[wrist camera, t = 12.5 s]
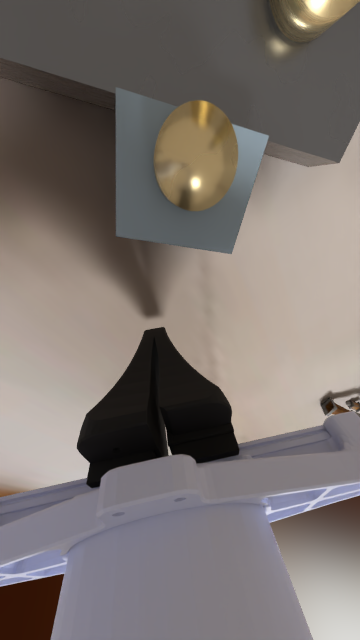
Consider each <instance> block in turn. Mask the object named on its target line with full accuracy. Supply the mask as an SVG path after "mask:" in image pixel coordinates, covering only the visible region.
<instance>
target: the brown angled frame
mask: <svg viewBox="0 0 360 640" xmlns="http://www.w3.org/2000/svg"><path fill="white" fill-rule="evenodd" d="M346 405H348V407H349V409H354V410H356V412H359V411H360V403H359V402H357V403H356V402H354V401H352V400H351V401H347V402H346ZM321 407H322V409H323V412H324V414H325V416H326V415H327V416H329V415H330V414H335V415H336V414H340V413H345V412H349V410H347V409H345V408H343V407H341V406H339V405H337V404H336V403H334V401H333V400H332V398H329V399H328V400H327V401H326V402H325V403H323V404H322V405H321ZM351 411H352V410H351ZM356 412H355V413H356ZM356 414H357V415H358V416H359V417H360V414H359V413H356Z"/></svg>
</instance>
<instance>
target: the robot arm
mask: <svg viewBox="0 0 360 640" xmlns="http://www.w3.org/2000/svg"><path fill="white" fill-rule="evenodd" d="M231 416H232V410H231V406H230V404H229V402H228V400H227V398H226V397H225V395H224V394H223V392H222V391H221V390H220V388H219V387H218V386H216V385H215V384H213V383H212V382H210V381H209V380H207V379H206V378H205V377H203V376H202V375H201V374H200V373H198V372H197V371H196V370H195V369H194V368H193V367H192V366H191V365H190V364H188V363H187V361H186V360H185V359H184V358H183V357H182V356H181V355H180V353H179V352H178V351H177V350H176V348H175V347H174V345H173V344H172V342H171V341H170V339H169V337H168V335H167V333H166V330H165V328H164V327H161V328H155V329H150V330H145V331H144V334H143V337H142V340H141V342H140V345H139V347H138V349H137V351H136V353H135V355H134V357H133V359H132V361H131V363H130V364H129V366H128V368H127V369H126V371H125V372H124V374H123V375H122V376H121V378H120V379H119V380H118V382H117V383H116V384H115V386H114V387H113V388H112V389H111V390H110V391H109V392H108V394H107V395H106V396H105V397H104V398H103V399H102V400H101V401H100V402H99V403H98V404H97V405H96V406H95V407H94V408H93V409H92V410H90V411H89V412H88V413H87V414H86V417H85V419H84V422H83V425H82V427H81V431H80V435H79V439H78V443H77V449H78V451H79V452H80V454H81V455H82V456H83V457H84V458H85V459H86V460H87V461H88V462H89V463H90V467H89V472H88V477H87V478H85V479H80V480H76V481H71V482H67V483H63V484H58V485H54V486H49V487H45V488H40V489H36V490H31V491H27V492H23V493H18V494H14V495H9V496H5V497H0V586H4V585H9V584H14V583H19V582H24V581H28V580H33V579H39V578H43V577H49V576H54V575H59V574H64V573H65V574H64V579H63V584H62V588H61V593H60V599H59V603H58V608H57V613H56V617H55V622H54V627H53V632H52V637H51V640H313V638H312V636H311V633H310V630H309V628H308V625H307V623H306V619H305V617H304V614H303V612H302V609H301V606H300V604H299V601H298V598H297V596H296V593H295V590H294V588H293V585H292V582H291V580H290V577H289V574H288V572H287V569H286V566H285V563H284V561H283V558H282V555H281V553H280V550H279V547H278V544H277V542H276V539H275V536H274V534H273V531H272V528H271V526H270V522H273V521H276V520H280V519H283V518H286V517H289V516H292V515H296V514H299V513H302V512H305V511H308V510H312V509H315V508H318V507H321V506H324V505H328V504H331V503H335V502H338V501H341V500H345V499H348V498H352V497H355V496H359V495H360V417H359V416H358V415H357V414H356V413H355V412H354V411H349V412H345V413H340V414H336V415H332V416H330V417H328V418H327V419H326V420H325V421H324V423H323V425H321V426H316V427H312V428H307V429H303V430H299V431H294V432H290V433H285V434H281V435H276V436H272V437H267V438H263V439H259V440H254V441H250V442H245V443H241V444H238V443H237V441H236V438H235V435H234V429H233V426H232V423H231ZM165 427H166V430H167V440H168V446H169V447H170V450H171V453H172V455H170V456H169V455H168V448H167V440H166V431H165Z"/></svg>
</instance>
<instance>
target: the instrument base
mask: <svg viewBox="0 0 360 640" xmlns="http://www.w3.org/2000/svg"><path fill="white" fill-rule="evenodd" d="M0 77H3V78H6V79H9V80H13V81H16V82H20V83H23V84H27V85H30V86H33V87H37V88H40V89H44V90H47V91H51V92H54V93H57V94H61V95H64V96H68V97H71V98H74V99H78V100H81V101H85V102H88V103H92V104H95V105H98V106H102V107H105V108H109V109H112V110H116V87H117V88H121V89H124V90H127V91H130V92H133V93H136V94H139V95H143V96H146V97H149V98H152V99H155V100H158V101H161V102H165V103H168V104H171V105H174V106H177V107H179V106H180V105H182V104H184V103H187V102H189V101H195V100H199V101H206V102H209V103H211V104H214V105H215V106H217V107H218V108H220V109H221V110H222V111H223V112H224V113H225V115H226V116H227V117H228V119H229V120H230V122H231V124H234V125H237V126H240V127H243V128H246V129H249V130H253V131H256V132H259V133H262V134H265V135H268V136H269V138H268V141H267V144H266V147H265V150H264V153H263V154H266V155H270V156H273V157H277V158H280V159H283V160H287V161H290V162H294V163H297V164H301V165H304V166H307V167H312V166H319V165H327V164H335V163H340V160H341V158H342V156H343V154H344V152H345V150H346V148H347V146H348V144H349V142H350V140H351V138H352V136H353V134H354V132H355V130H356V128H357V126H358V124H359V122H360V0H0Z"/></svg>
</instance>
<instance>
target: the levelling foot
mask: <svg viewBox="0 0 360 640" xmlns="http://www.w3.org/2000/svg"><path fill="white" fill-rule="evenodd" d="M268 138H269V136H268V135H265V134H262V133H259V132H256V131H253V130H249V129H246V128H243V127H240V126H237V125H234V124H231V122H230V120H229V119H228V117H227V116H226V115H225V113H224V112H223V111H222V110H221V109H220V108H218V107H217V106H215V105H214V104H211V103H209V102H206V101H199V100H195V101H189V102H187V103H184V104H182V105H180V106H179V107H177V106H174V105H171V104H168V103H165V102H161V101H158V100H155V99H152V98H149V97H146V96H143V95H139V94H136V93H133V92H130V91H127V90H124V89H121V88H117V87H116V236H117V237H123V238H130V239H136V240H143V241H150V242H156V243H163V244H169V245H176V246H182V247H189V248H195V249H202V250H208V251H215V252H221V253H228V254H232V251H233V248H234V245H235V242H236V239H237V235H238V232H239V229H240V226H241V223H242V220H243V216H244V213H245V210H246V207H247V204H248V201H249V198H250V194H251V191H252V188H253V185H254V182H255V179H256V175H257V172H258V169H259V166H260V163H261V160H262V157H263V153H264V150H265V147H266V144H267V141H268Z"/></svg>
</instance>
